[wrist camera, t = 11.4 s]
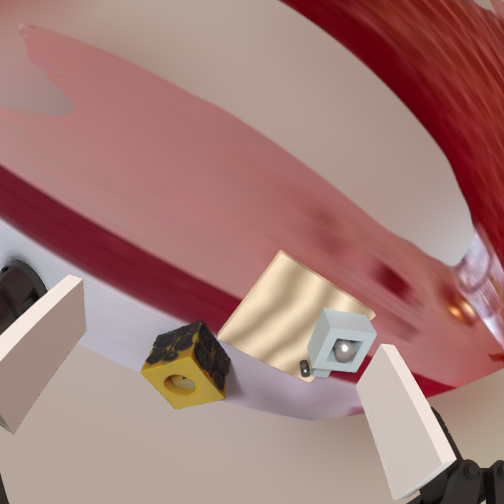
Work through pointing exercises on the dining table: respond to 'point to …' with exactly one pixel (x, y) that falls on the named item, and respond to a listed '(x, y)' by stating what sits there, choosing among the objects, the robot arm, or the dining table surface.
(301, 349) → the board
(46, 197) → the dining table surface
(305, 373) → the dowel
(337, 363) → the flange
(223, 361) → the yellow black cube
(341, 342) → the post
